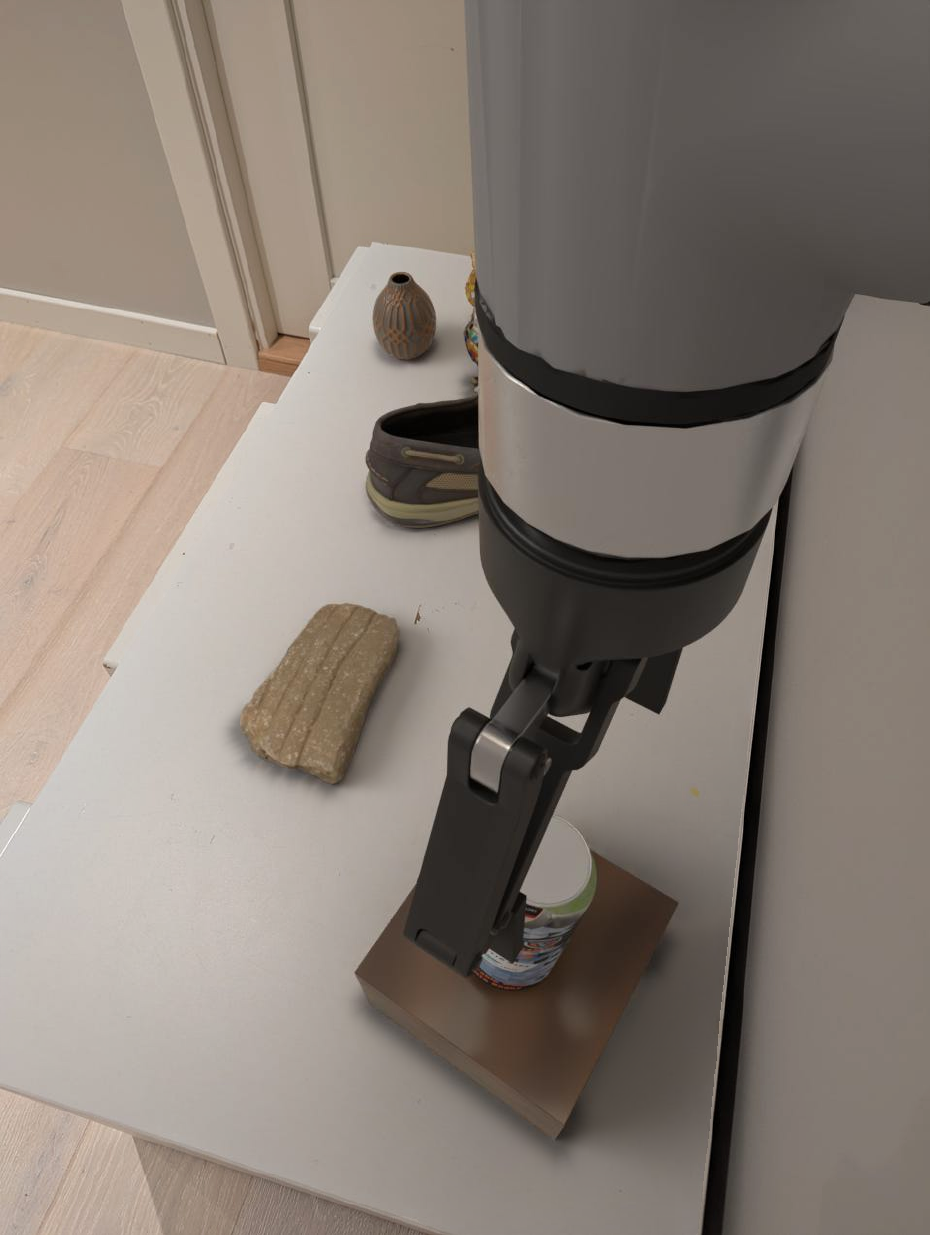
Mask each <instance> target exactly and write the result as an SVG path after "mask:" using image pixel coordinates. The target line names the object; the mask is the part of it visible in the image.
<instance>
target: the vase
mask: <svg viewBox="0 0 930 1235" xmlns="http://www.w3.org/2000/svg"><path fill="white" fill-rule="evenodd" d="M373 305H374V306H373V310H372V327H373V332H374V336H375V338H376V340H377V343H378V344H379V345H380V347H381V348H382V350H383V351H385V352H386V354H388V355H390V356H391V357H393V358H396V359H397V360H398V359H399V360H407V361H408V360H413V359H416V358H418V357H421V355H423V354H424V353H425V352H427V351H428V349H430V346H431V345H432V344H433V341H434V339H435V336H436V332H437V314H436V309H435V306H434V304H433V301H432V299H431V297H430V295H429V294H428V293H427V292H426V290H424V289H423V288H422V287H421V285H419V284H418V283H417V282H416V280H415V279H414V278H413V275H412V274H411V273H409V272H406V271H398V272H394V273H392V274H391V275H390V276H389V279H388V281H387V284H386V285H385V286H384V287H383V289H381V291H380V293H379V295H378V296H377V297H376V300H375V301H374V304H373Z"/></svg>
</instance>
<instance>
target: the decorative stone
mask: <svg viewBox="0 0 930 1235" xmlns="http://www.w3.org/2000/svg"><path fill="white" fill-rule="evenodd" d="M399 637H400V628H399V626H398V624H397V619H396V618H395V617H391V616H388V615H385V614H382V613H379V612H376V610H374V609H371V608H370V607H364V606H363V605H361V604H360V605H359V604H354V603H349V602H344V603H340V604H339V603H328V604H325V605H323V606H322V607H320V608H319V609H318V610H317V611H316V612H315V614H314V615H313V616H312V617H311V619H310V620H308V622H307V623H306V626H305V627H304V628H303V629H302V630H301V631H300V632H299V634H298V635H297V637H296V638H295V639H294V640H293V642H292V643H291V644H290V646H289V647H288V648H287V650H286V652H285V654H284V655H283V657H282V658H281V660H280V662H279V664H278V665H277V666H276V668H275V669H274V671H272V672H271V673H270V674H269V675H268V676H267V677H266V678H265V680H264V681H263V682H262V683H261V684H260V685H259V686H258V687H257V688H256V689H255V691H254V692H253V694H252V698H251V700H250V701H249V702H247V703H246V704H245V705H244V707H243V709H242V711H241V716H240V720H239V727H240V730H241V733H243V735H244V736H245V737H247V741H248V742H250V747H251V749H252V751H253V752H254V754H256V755H257V756H258V757H261V758H262V759H263V760H268V762H272V763H274V764H276V765H278V766H279V767H281V768H286V769H289V770H290V769H291V770H292V769H293V770H300V771H303V772H305V773H307V774H309V775H312V776H315V777H316V778H318V779H320V780H321V781H323V782H325V783H327V784H330V785H334V784H337V783H338V782H339V781H341V780H342V779H343V778H344V776H345V774H346V771H347V769H348V767H349V764H350V763H351V762H350V761H351V759H352V756H353V754H354V752H355V749H356V746H357V744H358V741H359V738H360V734H361V731H362V728H363V725H364V722H365V717H366V714H367V710H368V708H369V705H370V703H371V701H372V700H373V697H374V694H375V692H376V690H377V689H378V686H379V685H380V683H381V682H382V679H383V678H384V676H385V675H386V673H387V672H388V670H389V668H390V667H391V666H392V664H393V662H394V660H395V658H396V657H397V653H398V646H399V639H400V638H399Z"/></svg>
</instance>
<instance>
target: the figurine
mask: <svg viewBox="0 0 930 1235" xmlns="http://www.w3.org/2000/svg"><path fill="white" fill-rule="evenodd" d="M470 259H471V267H472V268H473V269H472V270H471V271H470V273H469V275H468V278H467V282H465V287H464V290H465V295H466V298H467V302H468V303H469V304H470V305H471V306H472V313H471V316H470V321H468V324H467V325H466V326H465V327H464V331H463V339H464V344H465V347H466V348H465V349H466V352H467V354H468V356H469V358H470V360H471V361H472V363H475V364H476V366H477V367H478V326H476V325H475V318H474V308H475V291H474V287H475V280H476V266H475V250H473V251H472V252H471V253H470ZM469 383H471V384H472V385H473V386H474V387H473V389H472V394H473V396H475V395H477V394H478V376H472V377H471V378H470V380H469Z"/></svg>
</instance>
